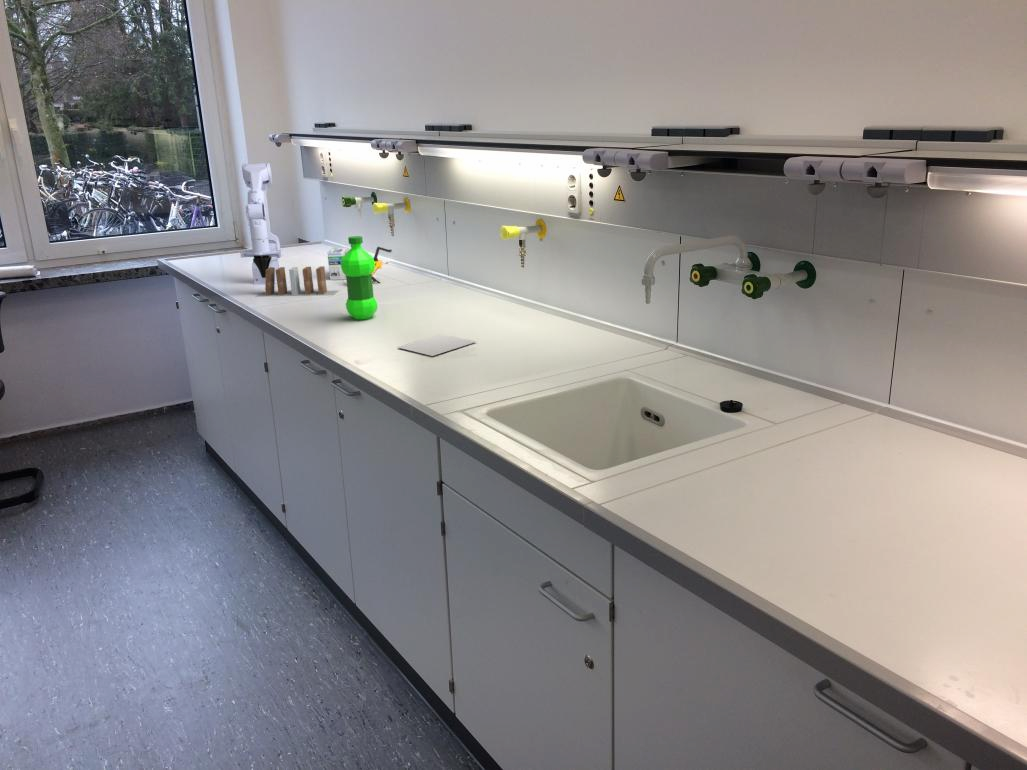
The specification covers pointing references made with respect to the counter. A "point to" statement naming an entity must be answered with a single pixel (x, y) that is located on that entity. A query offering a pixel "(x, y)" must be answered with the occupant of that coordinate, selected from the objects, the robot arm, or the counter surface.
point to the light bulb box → (336, 263)
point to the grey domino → (294, 280)
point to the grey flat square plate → (436, 344)
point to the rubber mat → (302, 293)
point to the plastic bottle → (359, 280)
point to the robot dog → (378, 261)
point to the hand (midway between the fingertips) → (264, 277)
